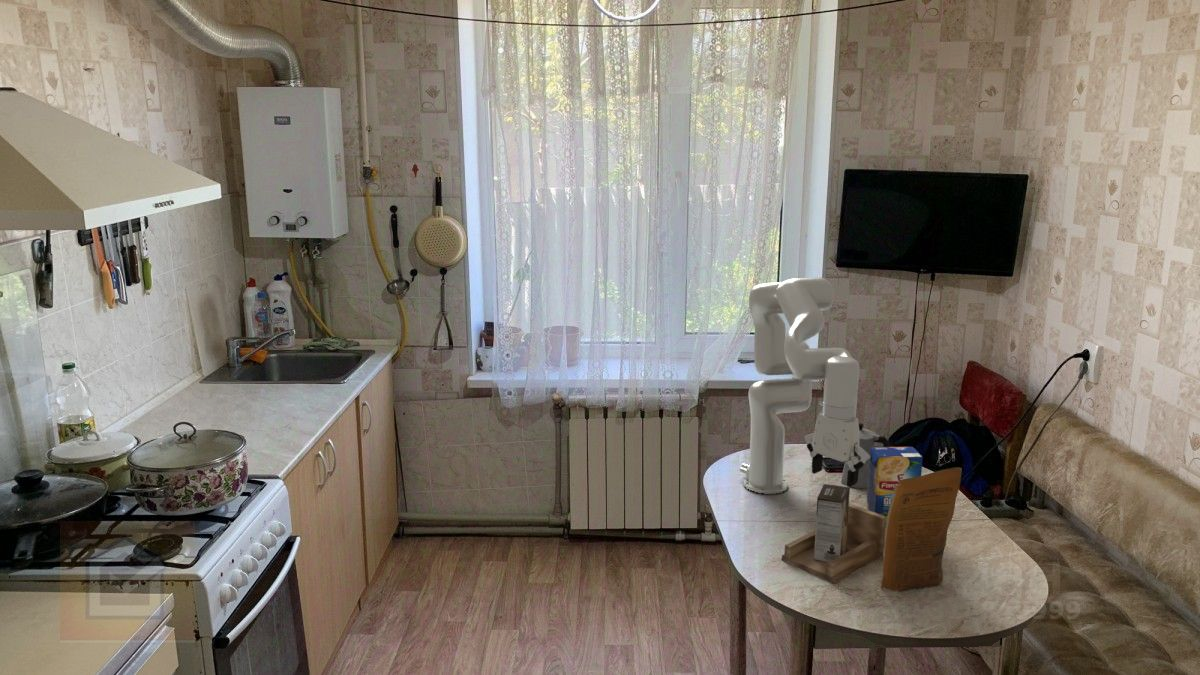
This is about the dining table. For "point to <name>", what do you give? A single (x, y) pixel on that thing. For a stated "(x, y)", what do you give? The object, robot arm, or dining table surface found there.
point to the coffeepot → (865, 443)
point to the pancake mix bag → (919, 530)
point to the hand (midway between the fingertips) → (834, 478)
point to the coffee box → (831, 522)
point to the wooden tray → (859, 551)
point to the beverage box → (889, 474)
